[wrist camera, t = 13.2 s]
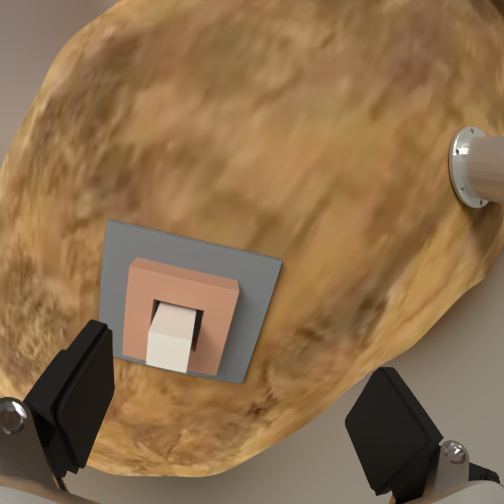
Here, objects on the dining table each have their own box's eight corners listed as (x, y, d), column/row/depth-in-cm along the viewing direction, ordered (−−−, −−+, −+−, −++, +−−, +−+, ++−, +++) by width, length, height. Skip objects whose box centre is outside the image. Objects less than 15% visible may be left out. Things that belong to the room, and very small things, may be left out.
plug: (197, 302, 32) (191, 340, 24) (192, 331, 33) (185, 373, 25) (163, 294, 31) (148, 331, 24) (159, 324, 32) (145, 364, 25)
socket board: (280, 259, 33) (288, 270, 29) (241, 379, 37) (243, 398, 33) (110, 219, 29) (96, 225, 26) (101, 347, 34) (91, 364, 30)
